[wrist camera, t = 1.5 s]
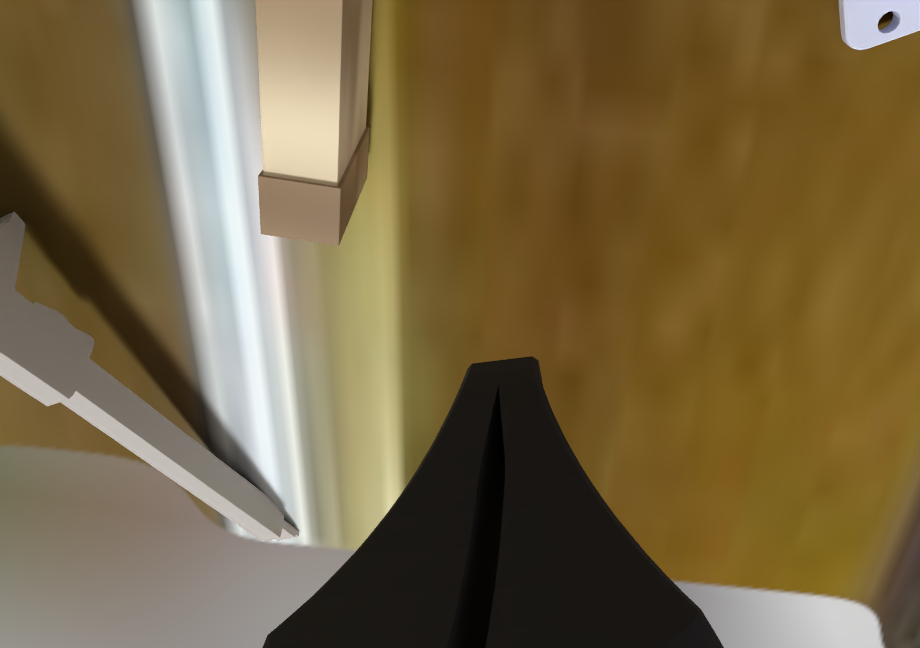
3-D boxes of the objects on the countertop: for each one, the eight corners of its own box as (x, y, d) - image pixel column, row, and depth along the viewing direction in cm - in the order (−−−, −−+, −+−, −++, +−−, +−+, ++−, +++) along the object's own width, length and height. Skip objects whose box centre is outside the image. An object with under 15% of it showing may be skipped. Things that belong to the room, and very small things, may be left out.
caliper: (-45, 172, 22) (-208, 273, 17) (-21, 161, 22) (-180, 260, 17) (283, 531, 33) (243, 658, 28) (302, 527, 33) (265, 654, 28)
